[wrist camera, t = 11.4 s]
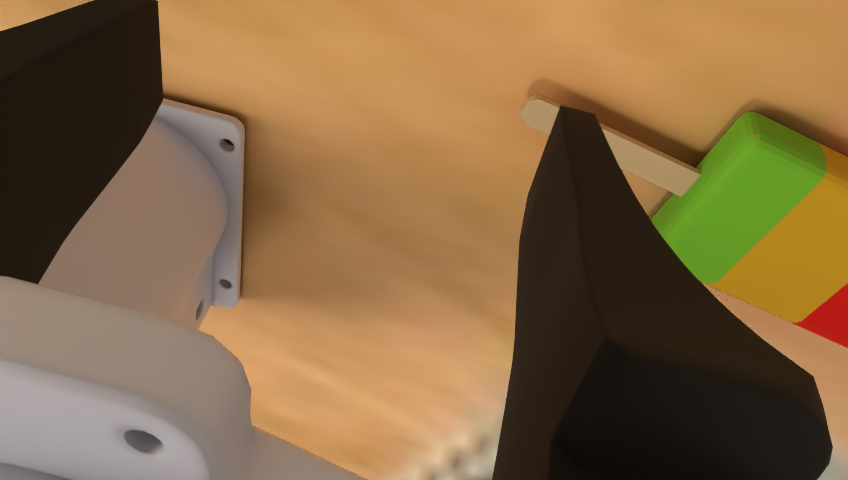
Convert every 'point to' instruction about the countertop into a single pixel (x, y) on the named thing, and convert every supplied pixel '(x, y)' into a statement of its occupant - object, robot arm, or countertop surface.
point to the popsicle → (751, 215)
